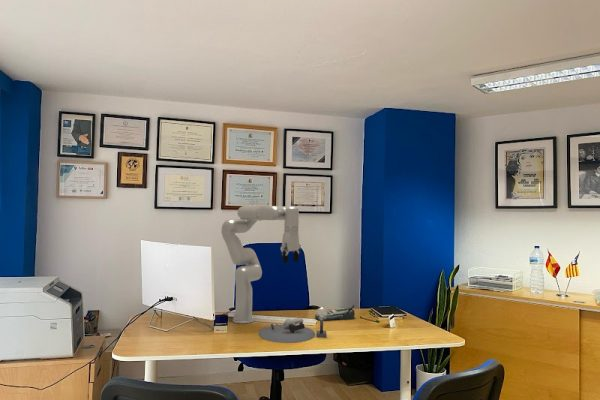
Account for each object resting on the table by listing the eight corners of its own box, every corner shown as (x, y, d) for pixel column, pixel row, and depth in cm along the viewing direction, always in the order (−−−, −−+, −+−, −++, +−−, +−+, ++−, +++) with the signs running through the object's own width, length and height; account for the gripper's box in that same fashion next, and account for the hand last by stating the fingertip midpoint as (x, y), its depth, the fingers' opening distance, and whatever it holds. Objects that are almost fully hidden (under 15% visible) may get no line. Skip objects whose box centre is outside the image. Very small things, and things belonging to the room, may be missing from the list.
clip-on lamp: (271, 338, 212) (305, 331, 212) (269, 327, 211) (303, 319, 212) (272, 329, 223) (304, 322, 224) (269, 318, 223) (301, 311, 223)
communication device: (311, 317, 246) (311, 303, 246) (347, 314, 253) (347, 300, 253) (318, 322, 235) (318, 307, 235) (355, 320, 242) (356, 305, 242)
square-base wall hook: (315, 337, 207) (316, 308, 207) (315, 334, 212) (316, 305, 212) (327, 337, 207) (328, 308, 207) (326, 334, 212) (327, 305, 212)
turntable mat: (255, 342, 197) (255, 341, 197) (261, 324, 227) (261, 323, 227) (316, 343, 197) (316, 343, 197) (314, 325, 227) (314, 325, 227)
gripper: (294, 229, 225) (294, 259, 225) (275, 230, 211) (275, 262, 211) (306, 229, 221) (305, 261, 221) (287, 230, 207) (286, 264, 206)
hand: (290, 261), depth 216 cm, fingers open, 9 cm apart
